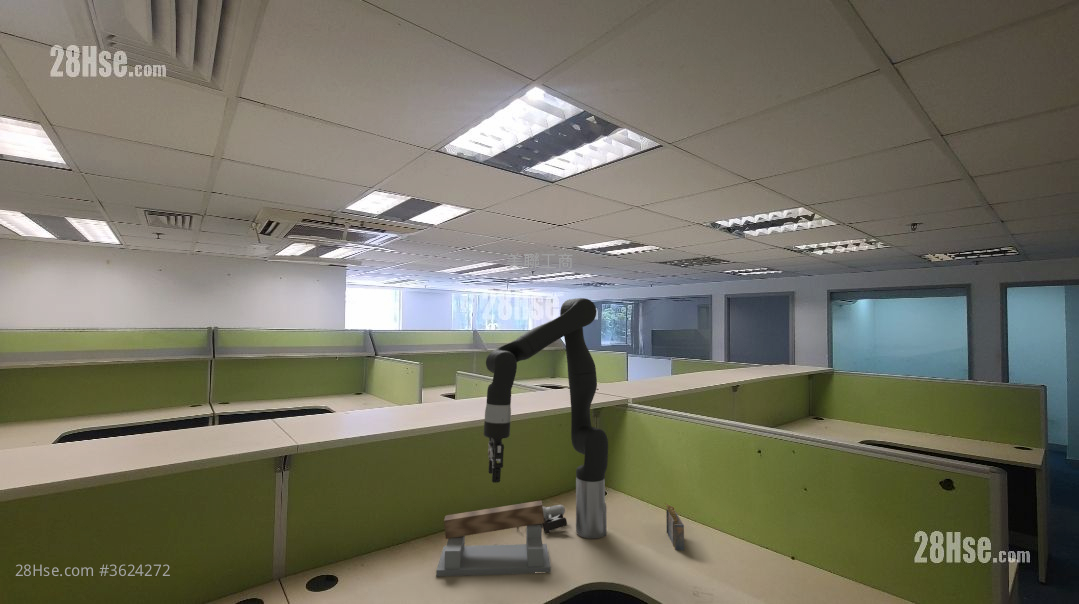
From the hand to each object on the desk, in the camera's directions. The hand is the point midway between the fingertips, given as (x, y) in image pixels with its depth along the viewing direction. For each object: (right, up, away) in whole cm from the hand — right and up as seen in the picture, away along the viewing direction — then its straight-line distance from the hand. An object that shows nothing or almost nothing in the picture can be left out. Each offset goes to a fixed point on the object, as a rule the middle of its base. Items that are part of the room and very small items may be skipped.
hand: (493, 477), depth 125 cm
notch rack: (+1, -22, -3) cm, 22 cm away
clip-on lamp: (+13, -24, +20) cm, 34 cm away
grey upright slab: (+55, -24, +10) cm, 61 cm away
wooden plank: (+1, -15, 0) cm, 15 cm away
